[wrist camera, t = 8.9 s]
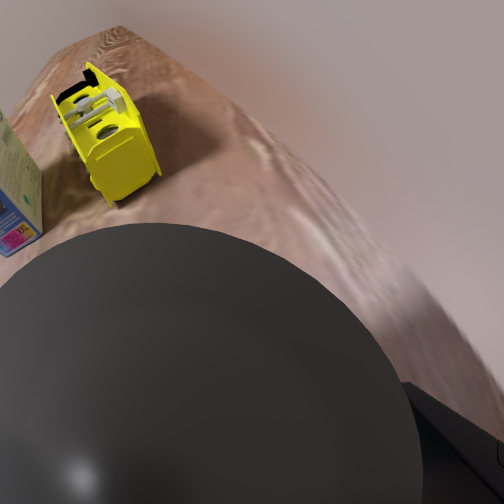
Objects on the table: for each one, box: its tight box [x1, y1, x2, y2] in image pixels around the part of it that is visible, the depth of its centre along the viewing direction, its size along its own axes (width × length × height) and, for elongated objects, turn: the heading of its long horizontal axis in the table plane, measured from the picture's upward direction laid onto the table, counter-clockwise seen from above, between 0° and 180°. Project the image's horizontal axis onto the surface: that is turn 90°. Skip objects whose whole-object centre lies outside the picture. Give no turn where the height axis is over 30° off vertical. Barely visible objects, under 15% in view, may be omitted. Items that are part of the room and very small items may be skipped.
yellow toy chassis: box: [51, 62, 162, 208], centre depth 24 cm, size 16×6×8 cm, turn 39°
